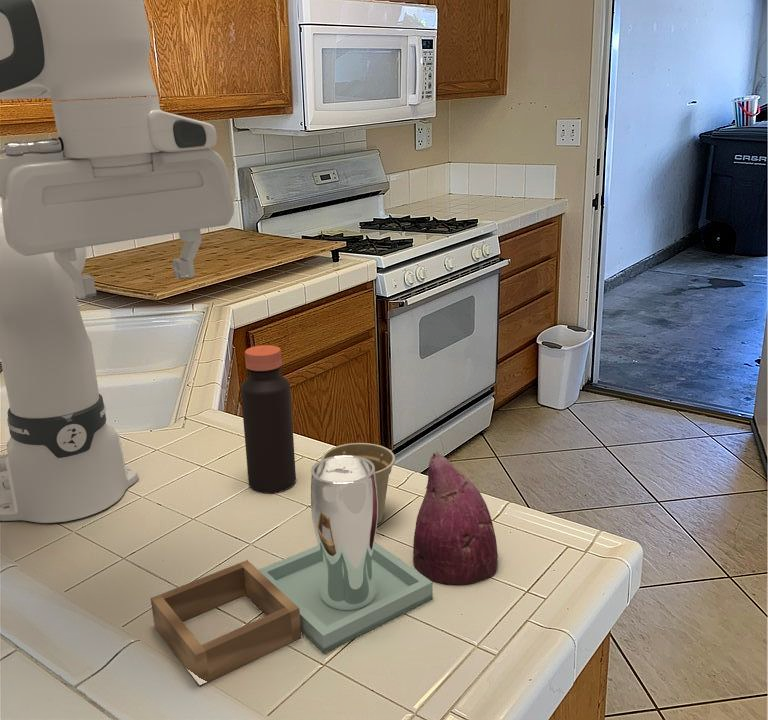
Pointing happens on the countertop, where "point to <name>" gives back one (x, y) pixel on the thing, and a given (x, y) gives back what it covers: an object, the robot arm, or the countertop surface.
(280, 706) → the countertop surface
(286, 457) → the bottle
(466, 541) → the vegetable
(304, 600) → the tray
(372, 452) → the flower pot
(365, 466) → the beer glass
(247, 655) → the frame
